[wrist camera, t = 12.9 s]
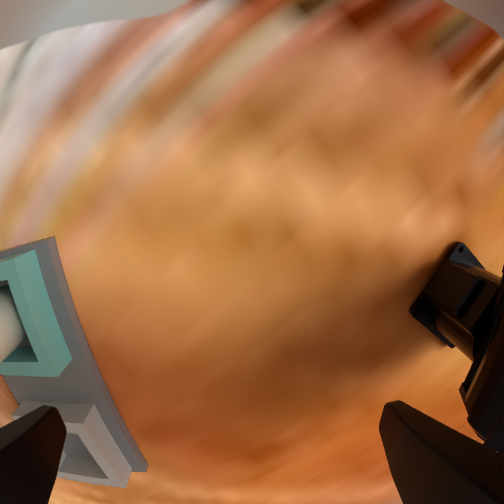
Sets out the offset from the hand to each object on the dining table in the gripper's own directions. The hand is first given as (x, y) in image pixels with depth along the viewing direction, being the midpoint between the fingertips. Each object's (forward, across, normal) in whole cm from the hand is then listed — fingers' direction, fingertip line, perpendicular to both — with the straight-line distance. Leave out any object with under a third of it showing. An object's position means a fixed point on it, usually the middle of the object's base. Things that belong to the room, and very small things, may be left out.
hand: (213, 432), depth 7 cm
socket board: (+13, +16, +8) cm, 22 cm away
